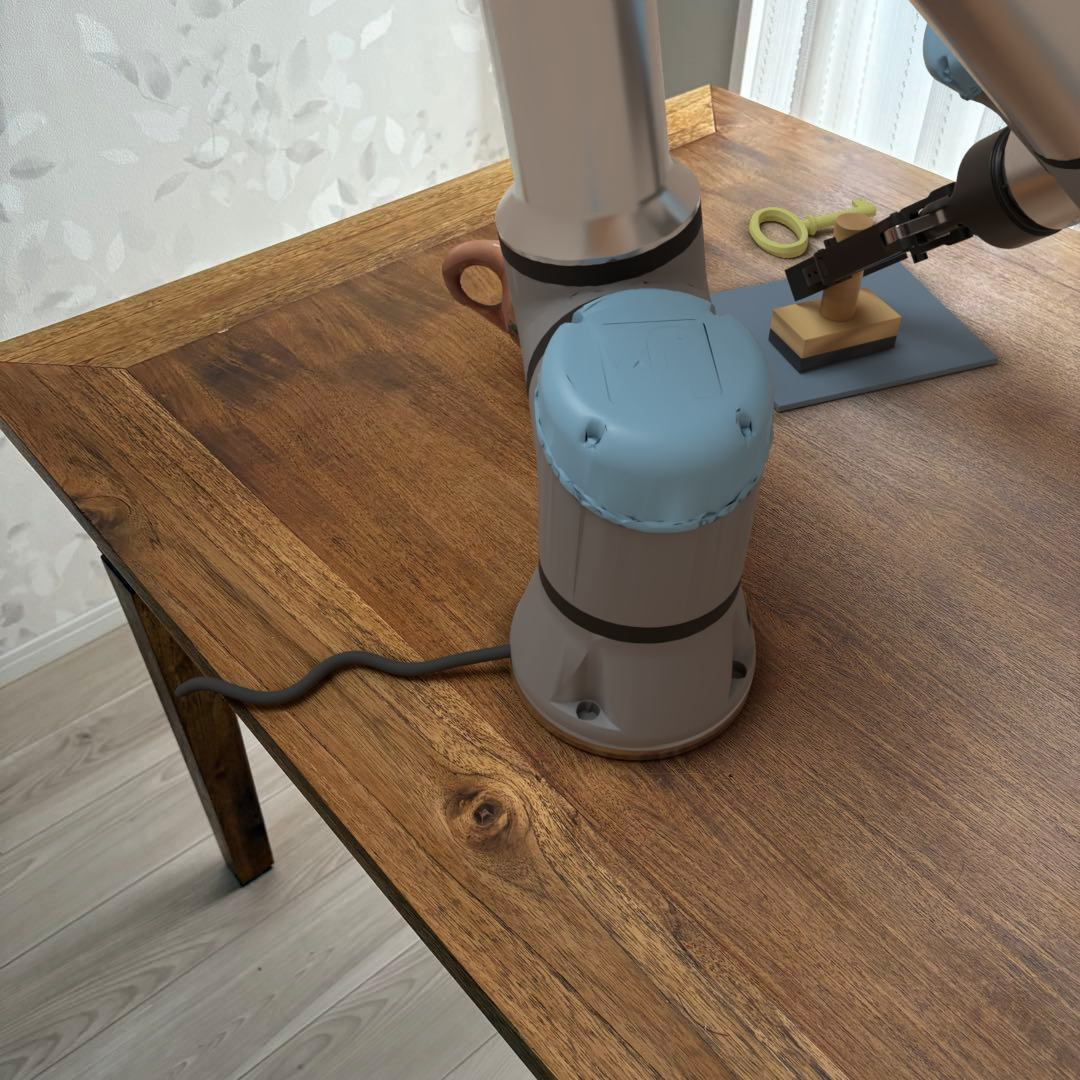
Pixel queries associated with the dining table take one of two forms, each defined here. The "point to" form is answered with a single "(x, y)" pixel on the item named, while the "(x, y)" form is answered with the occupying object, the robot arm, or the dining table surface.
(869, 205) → the key
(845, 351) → the scrub brush
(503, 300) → the decorative planter
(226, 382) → the dining table surface
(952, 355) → the scrub mat
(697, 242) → the robot arm
